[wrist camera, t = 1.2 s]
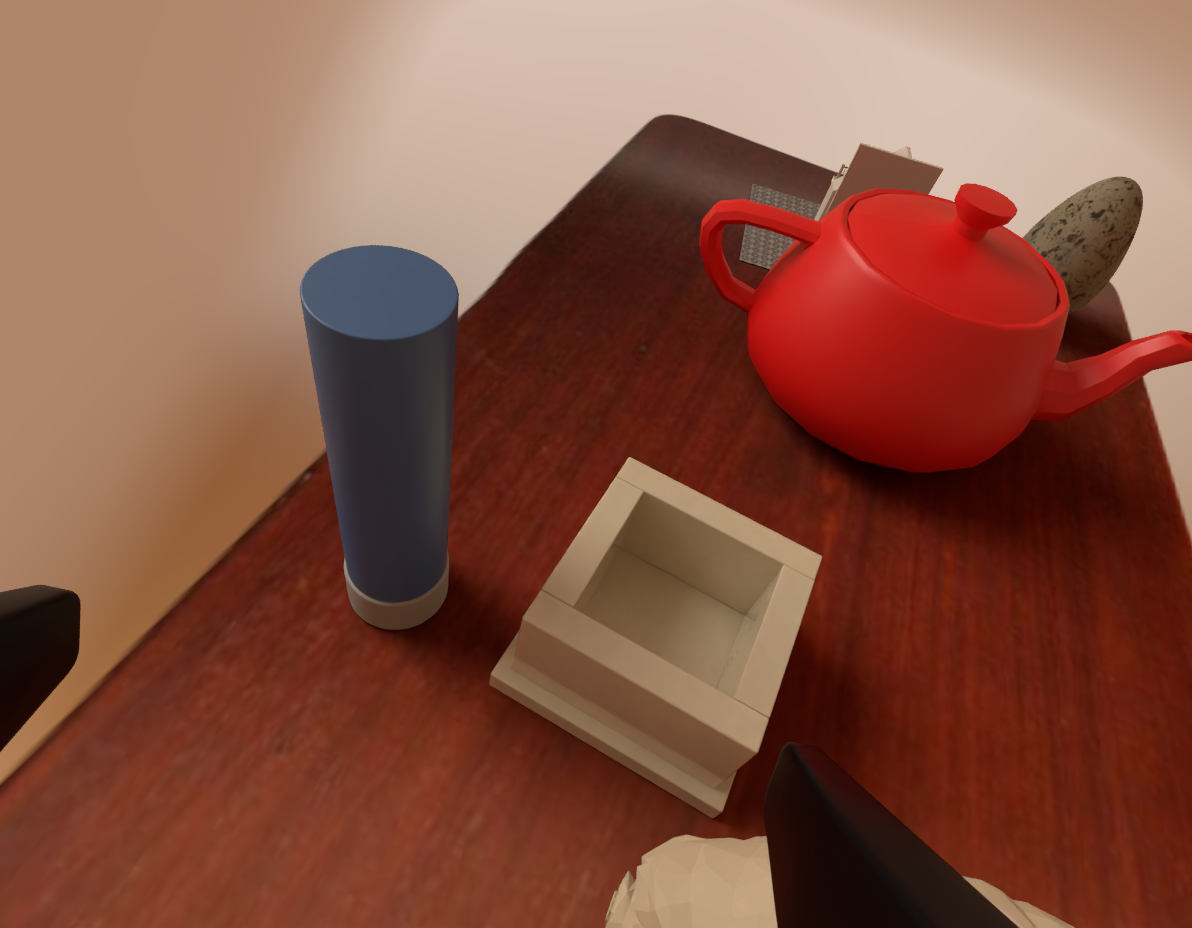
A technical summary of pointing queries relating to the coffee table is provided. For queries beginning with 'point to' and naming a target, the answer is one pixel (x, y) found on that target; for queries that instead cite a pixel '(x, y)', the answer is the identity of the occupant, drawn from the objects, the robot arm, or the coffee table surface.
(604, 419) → the coffee table surface
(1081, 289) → the decorative egg
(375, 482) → the cylinder
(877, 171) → the napkin holder
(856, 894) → the robot arm
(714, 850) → the model
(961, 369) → the teapot
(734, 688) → the holder
